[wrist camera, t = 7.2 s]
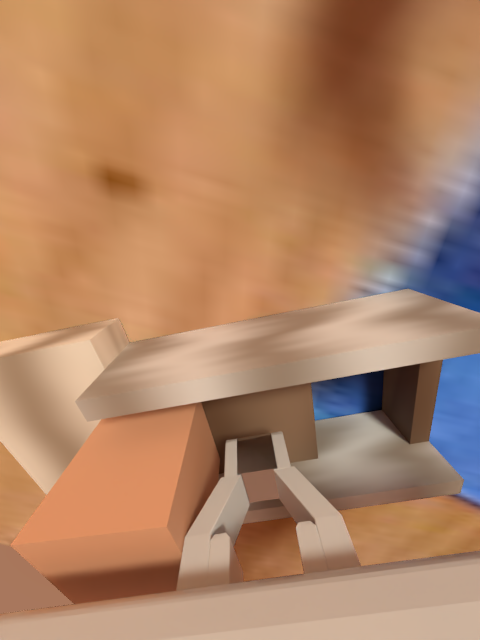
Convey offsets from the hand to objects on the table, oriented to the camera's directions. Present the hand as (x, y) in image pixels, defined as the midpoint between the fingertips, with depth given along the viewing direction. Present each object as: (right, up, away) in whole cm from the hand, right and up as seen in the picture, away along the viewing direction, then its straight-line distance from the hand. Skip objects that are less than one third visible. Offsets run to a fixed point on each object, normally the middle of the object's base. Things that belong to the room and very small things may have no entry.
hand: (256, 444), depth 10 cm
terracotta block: (-4, 0, +1) cm, 5 cm away
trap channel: (-2, +1, +4) cm, 4 cm away
